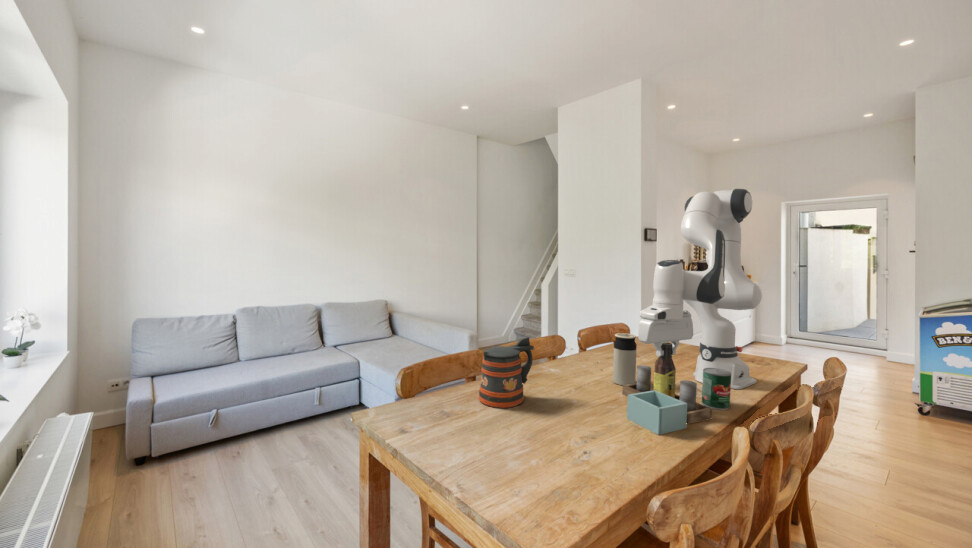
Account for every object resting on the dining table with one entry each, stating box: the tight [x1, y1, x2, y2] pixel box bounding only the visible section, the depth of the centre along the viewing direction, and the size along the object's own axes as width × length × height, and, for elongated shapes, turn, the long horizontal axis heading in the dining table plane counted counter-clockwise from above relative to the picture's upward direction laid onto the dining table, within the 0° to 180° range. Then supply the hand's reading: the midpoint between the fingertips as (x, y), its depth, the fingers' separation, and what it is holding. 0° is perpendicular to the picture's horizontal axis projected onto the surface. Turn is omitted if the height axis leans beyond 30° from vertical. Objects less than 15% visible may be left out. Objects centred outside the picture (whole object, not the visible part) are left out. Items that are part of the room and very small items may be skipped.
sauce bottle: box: [653, 342, 677, 398], centre depth 127 cm, size 7×6×20 cm
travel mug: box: [612, 332, 638, 387], centre depth 149 cm, size 8×8×18 cm
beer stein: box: [478, 336, 535, 409], centre depth 131 cm, size 19×15×20 cm
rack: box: [622, 364, 713, 425], centre depth 127 cm, size 10×26×10 cm, turn 24°
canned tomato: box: [701, 368, 732, 411], centre depth 128 cm, size 8×8×11 cm
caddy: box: [626, 390, 687, 436], centre depth 114 cm, size 10×12×7 cm
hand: (665, 355), depth 126 cm, fingers closed on sauce bottle, 4 cm apart
